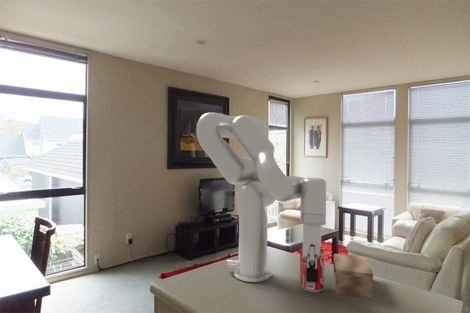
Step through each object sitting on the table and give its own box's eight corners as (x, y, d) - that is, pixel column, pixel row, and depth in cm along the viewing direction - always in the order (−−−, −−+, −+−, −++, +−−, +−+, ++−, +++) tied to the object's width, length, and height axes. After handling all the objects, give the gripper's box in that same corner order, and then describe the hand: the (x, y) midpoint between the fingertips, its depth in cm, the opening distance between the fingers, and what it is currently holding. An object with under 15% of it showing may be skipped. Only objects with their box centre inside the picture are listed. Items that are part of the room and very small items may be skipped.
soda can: (324, 295, 90) (325, 250, 90) (299, 292, 92) (300, 248, 92) (322, 285, 97) (323, 243, 97) (299, 282, 99) (300, 242, 99)
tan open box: (336, 293, 91) (336, 270, 91) (333, 273, 107) (333, 253, 107) (372, 298, 89) (373, 273, 89) (364, 277, 104) (364, 256, 104)
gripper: (301, 212, 104) (301, 265, 104) (298, 223, 87) (297, 286, 87) (325, 214, 102) (324, 268, 102) (326, 225, 85) (325, 290, 85)
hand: (312, 276), depth 94 cm, fingers closed on soda can, 6 cm apart
